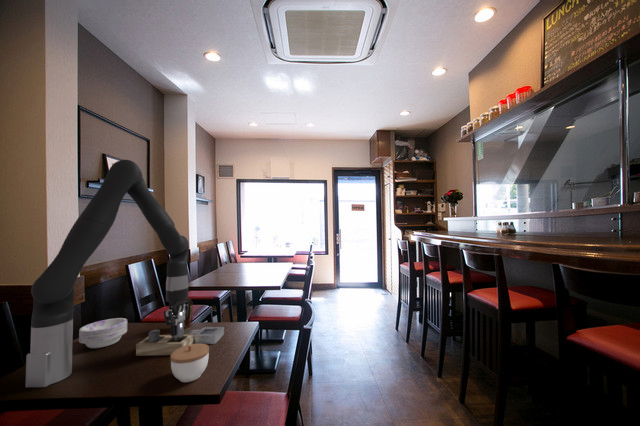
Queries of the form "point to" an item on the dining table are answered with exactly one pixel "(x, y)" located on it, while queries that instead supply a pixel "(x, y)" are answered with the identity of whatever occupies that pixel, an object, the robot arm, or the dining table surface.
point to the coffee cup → (188, 319)
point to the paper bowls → (103, 332)
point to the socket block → (208, 335)
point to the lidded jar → (189, 361)
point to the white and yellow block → (190, 332)
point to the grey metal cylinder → (179, 329)
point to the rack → (160, 344)
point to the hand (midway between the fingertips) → (177, 332)
